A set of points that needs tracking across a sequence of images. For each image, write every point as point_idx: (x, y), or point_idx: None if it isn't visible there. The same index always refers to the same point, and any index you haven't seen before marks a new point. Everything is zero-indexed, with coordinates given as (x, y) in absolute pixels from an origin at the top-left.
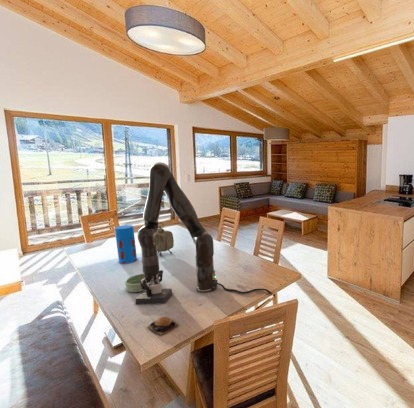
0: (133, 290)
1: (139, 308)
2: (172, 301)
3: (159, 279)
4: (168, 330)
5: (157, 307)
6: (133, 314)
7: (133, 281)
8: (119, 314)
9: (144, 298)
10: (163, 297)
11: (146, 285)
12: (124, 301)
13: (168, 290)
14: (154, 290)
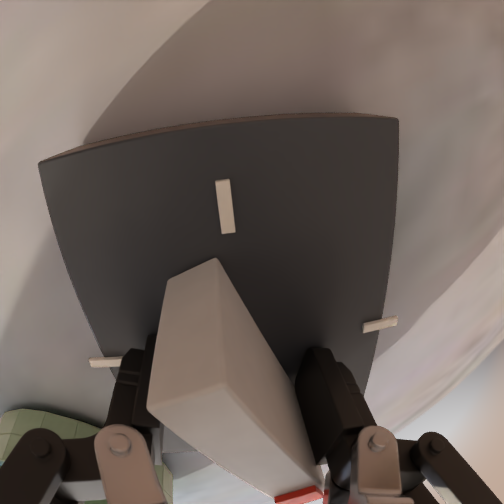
0: (169, 481)
1: (415, 317)
2: (304, 20)
3: (57, 487)
4: None
5: (433, 154)
6: (478, 299)
7: (88, 502)
8: (445, 375)
9: (369, 368)
10: (386, 127)
11: (471, 495)
12: None
13: (110, 176)
14: (270, 377)
